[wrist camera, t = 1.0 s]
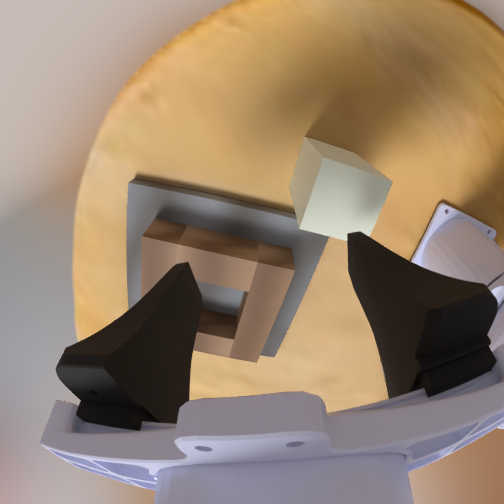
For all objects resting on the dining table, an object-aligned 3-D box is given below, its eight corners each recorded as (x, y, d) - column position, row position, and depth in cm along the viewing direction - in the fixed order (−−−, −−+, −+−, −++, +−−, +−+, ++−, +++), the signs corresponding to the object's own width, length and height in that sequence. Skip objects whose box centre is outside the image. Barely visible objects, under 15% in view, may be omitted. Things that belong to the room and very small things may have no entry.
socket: (329, 223, 22) (340, 248, 19) (274, 350, 31) (274, 379, 27) (133, 178, 21) (111, 196, 17) (133, 319, 29) (120, 345, 26)
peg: (355, 152, 19) (392, 181, 13) (338, 200, 21) (364, 245, 15) (304, 136, 19) (323, 157, 13) (289, 186, 21) (299, 228, 15)
